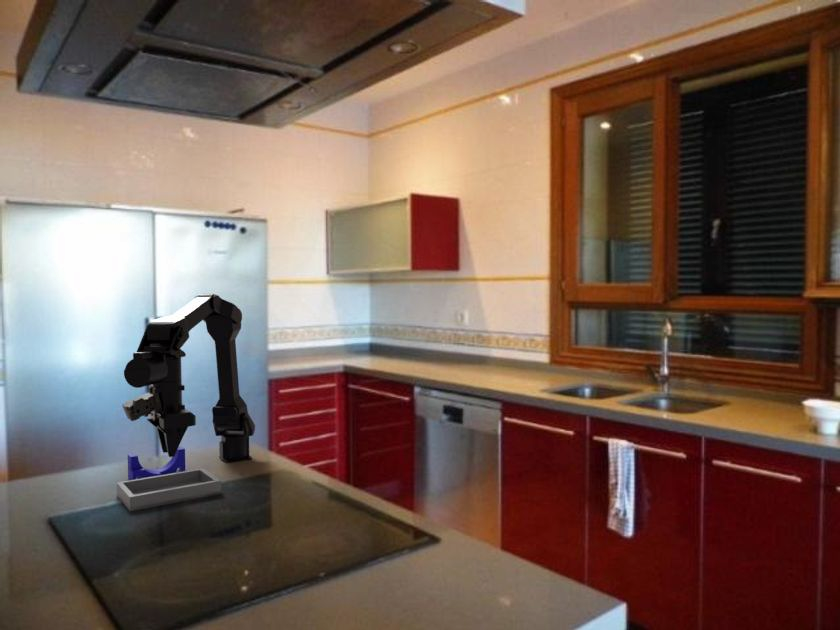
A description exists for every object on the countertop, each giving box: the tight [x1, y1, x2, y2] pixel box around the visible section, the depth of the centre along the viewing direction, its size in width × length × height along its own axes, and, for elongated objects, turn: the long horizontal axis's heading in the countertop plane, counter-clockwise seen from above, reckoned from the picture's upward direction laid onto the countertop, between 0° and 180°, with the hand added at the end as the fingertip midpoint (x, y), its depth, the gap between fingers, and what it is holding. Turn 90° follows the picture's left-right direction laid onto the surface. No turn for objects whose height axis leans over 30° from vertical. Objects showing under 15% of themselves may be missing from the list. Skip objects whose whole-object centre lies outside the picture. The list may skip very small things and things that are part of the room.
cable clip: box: [127, 446, 186, 481], centre depth 150 cm, size 12×4×6 cm, turn 127°
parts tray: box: [116, 467, 222, 512], centre depth 136 cm, size 18×12×3 cm, turn 126°
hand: (168, 454), depth 136 cm, fingers open, 4 cm apart
